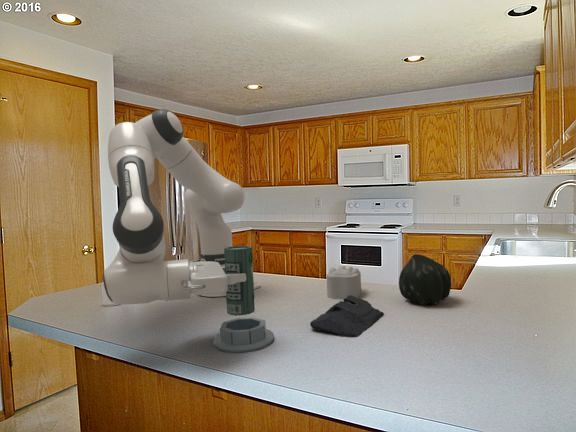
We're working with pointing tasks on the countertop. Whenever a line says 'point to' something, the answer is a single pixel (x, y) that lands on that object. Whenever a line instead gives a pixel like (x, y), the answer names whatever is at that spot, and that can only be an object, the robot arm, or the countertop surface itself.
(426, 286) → the squash
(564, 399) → the countertop surface
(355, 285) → the lumpy-topped squat cylinder
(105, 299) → the eye dropper bottle
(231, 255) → the can
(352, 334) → the dark slate chunk
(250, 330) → the collar seat
